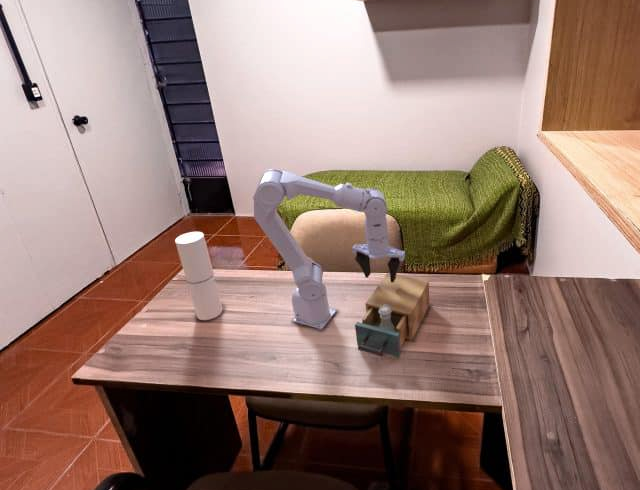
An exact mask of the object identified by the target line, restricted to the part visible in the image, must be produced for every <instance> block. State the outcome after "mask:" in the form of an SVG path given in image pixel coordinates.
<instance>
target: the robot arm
mask: <svg viewBox="0 0 640 490" xmlns="http://www.w3.org/2000/svg"><path fill="white" fill-rule="evenodd" d="M300 195H302V196H308V197H312V198H319V199H323V200H328V201H332V202H333V204H334V206H335V207H339V208H341V209H342V208H343V209H347V210H351V211H355V212H360V213H364V228H365V239H366V243H365V244H364V243H363V244H357V243H355V244H354V245H353V246H352V254H353V255H356V256H355V257H354V261H355V262H356V263H357V264H358V266H360V268H361V270H362V272H363V274H364V277H365V278H369V277H370V275H371V271H372V270H371V260H377V259H385V258H387V259H388V258H389V261H388V262H387V267H388V269H389V273H390V280H391V282H394V281H395V279H396V275H397V273H398V270H399V266H400V264H401V262H404V260H405V259H406V251H404V250H400V249H397V248H394V247H392V246H391V245H389V234H388V219H387V213H388V208H389V207H388V206H387V202H386V199H385V196H384V195H383V193H382V192H381V190H379V189H376V188H375V187H374V188H373V187H372V188H360V187H356V186H353V184H352V183H350V182H346V184H344V183H340V184H338V185H336V186H334V185H331V184H326V183H323V182H321V181H317V180H313V179H310V178H308V177H304V176H300V175H298V174H295V173H293V172H291V171H286V170H283V171H282V170H281V169H277V168H269V169H267V170H266V171H265V172H264V173H263V174H262V175H261V177H260V180H259V182H258V185H257V187H256V190H255V192H254V194H253V197H252V199H253V218H254V220H255V221H256V223H257V224H258V225H259V227H260V229H261V230H262V231H263V232H264V234H265V235H266V237H267V238H268V239H269V241H270V242H271V244H272V245H273V246H274V248H275V250H276V251H277V252H278V253H279V254H280V257H281V258H282V259H283V261H284V262H285V264H286V265H287V266H288V268H289V269H290V270H291V272H292V277H293V280H294V283H295V285H296V286H297V287H296V289H295V290H294V292H293V294H292V297H291V304H292V305H291V306H292V309H293V314H294V319H293V322H294V323H297V324H301V325H303V326H304V325H305V326H308V327H312V328H315V329H318V330H323V329H324V328H325V326H326V325H327V324H328V322H330V320H331V318H332V317H333V316H334V315H335V314H336V312H337V310H336V309H334V308H330V305H329V299H328V293H327V287H326V285H325V284H324V283H323V274H324V269H323V267H322V266H321V265H320V264H318V263H317V262H315V261H314V260H313V259H312V257H311V256H310V257H308V256H307V255H306V253H305V252H304V250H303V248H302V247H301V246H300V244H299V243H298V241H297V240H296V239H295V236H294V235H293V234H292V233H291V231H290V229H289V228H288V227H287V225H286V223H285V222H284V220H283V219H282V218H281V216H280V214H278V211H277V209H278V207H279V206H280V205H281V204H282V203H283V201H284V200H285V197H286V201H290V200H293V198H295V197H297V196H300Z"/></svg>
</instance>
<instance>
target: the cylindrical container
mask: <svg viewBox="0 0 640 490" xmlns="http://www.w3.org/2000/svg"><path fill="white" fill-rule="evenodd" d="M174 242H175V245H176V250H177V253H178V257H179V260H180V263H181V266H182V270H183V274H184V276H185V277H184V278H185V280H186V283H187V288H188V291H189V294H190V297H191V300H192V304H193V307H194V311H195V314H196V317H197V319H198V320H201V321H209V320H212V319H215V318H217V317H219V316H220V315H221V314H222V312H223V309H224V308H223V304H222V301H221V300H222V299H221V297H220V293H219V289H218V284H217V281H216V276H215V273H214V269H213V266H212V262H211V258H210V254H209V250H208V245H207V241H206V238H205V234H204V232H202V231H190V232H186V233H183V234H180V235H179V236H177V237H176V238H175V240H174Z"/></svg>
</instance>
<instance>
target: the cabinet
mask: <svg viewBox="0 0 640 490" xmlns="http://www.w3.org/2000/svg"><path fill="white" fill-rule="evenodd" d="M382 305H383V306H384V305H386V306H387V305H389V307H390V308H391V310H392V311H391V312H394V313H399V314H403V315H407V316H408V325H409V333H408V335H407V337H406V338H405V340H409V341H413V339H414V337H415V335H416V333H417V331H418V330H419V327H420V325H421V323H422V321H423V319H424V317H425V316H426V313H427V312H428V309H429V307H430V281H429V280H427V279H421V278H415V277H411V276H406V275H402V274H401V275H400V274H396V279H395V281H394V282H391V280H390V272H387V273H386V274H385V275H384V277H383V278H382V279H381V281H380V282H379V284H378V285H377V287H376V288H375V289H374V290H373V292H372V294H371V295H370V296H369V297H368V299H367V300H366V302H365V314H366V313H367V312H368V310H369V309H370V308H371V307H373V308H378V309H380V307H381V306H382Z"/></svg>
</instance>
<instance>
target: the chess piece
mask: <svg viewBox="0 0 640 490" xmlns="http://www.w3.org/2000/svg"><path fill="white" fill-rule="evenodd" d="M391 311H392V310H391V308H390V307H389V305H387V306H386V305H384V306H383V305H382V306H381V307H380V309H379V313H380V318H381V323H380V325H379V328H383V329H387V330H391V331H394V332H395V326H394V325H393V323H392V322H391V318H390V317H391V314H390V313H391Z"/></svg>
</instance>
